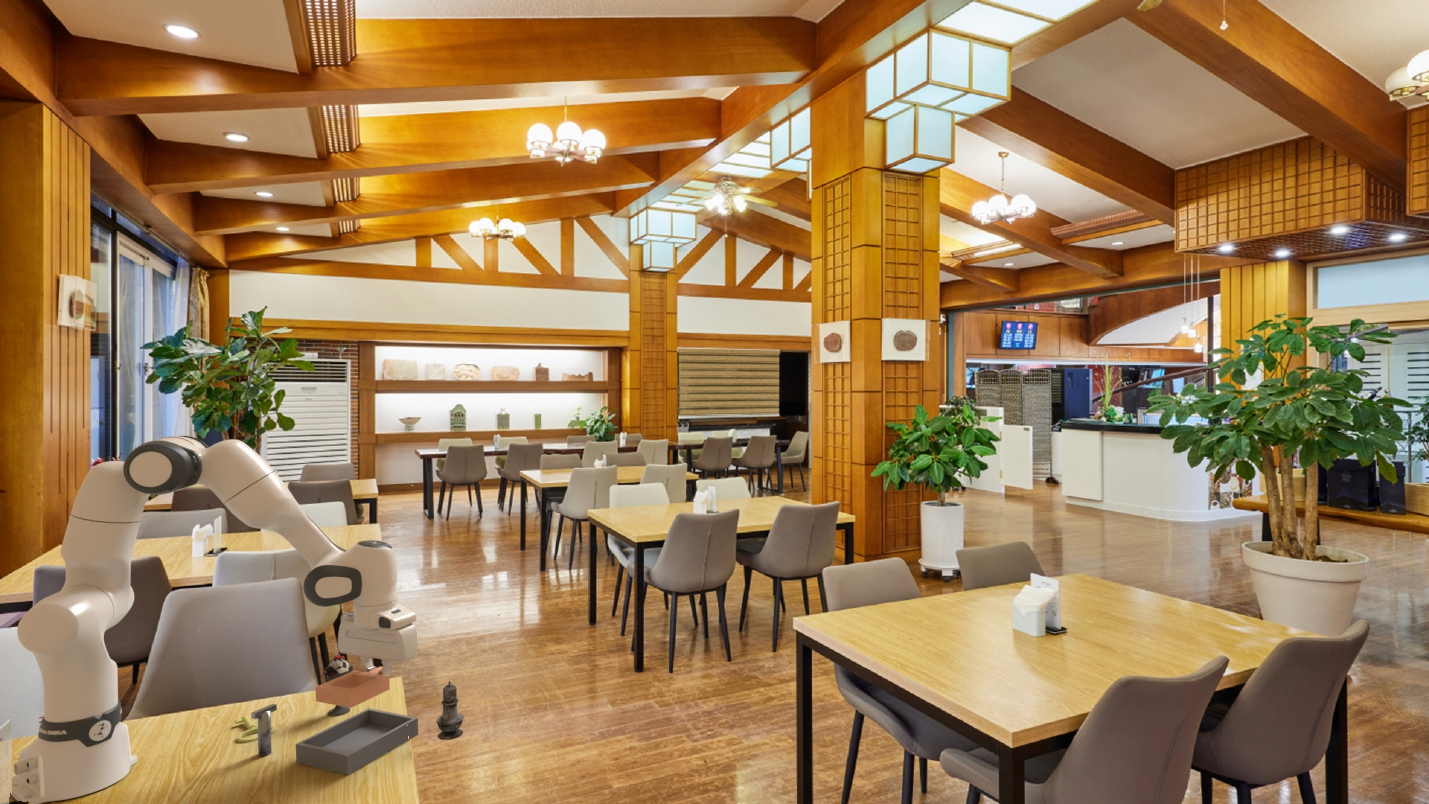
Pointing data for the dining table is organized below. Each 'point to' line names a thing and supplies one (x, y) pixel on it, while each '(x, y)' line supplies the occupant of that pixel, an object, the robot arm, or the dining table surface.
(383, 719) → the tray
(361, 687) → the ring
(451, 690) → the salt shaker
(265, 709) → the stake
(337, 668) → the sundae
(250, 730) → the key
